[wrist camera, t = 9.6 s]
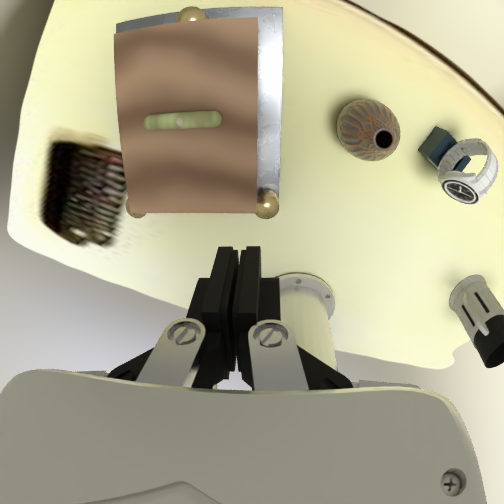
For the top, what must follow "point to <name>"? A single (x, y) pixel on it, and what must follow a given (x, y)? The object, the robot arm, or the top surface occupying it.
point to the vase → (368, 130)
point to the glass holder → (480, 318)
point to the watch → (459, 165)
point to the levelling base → (267, 90)
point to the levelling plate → (187, 89)
